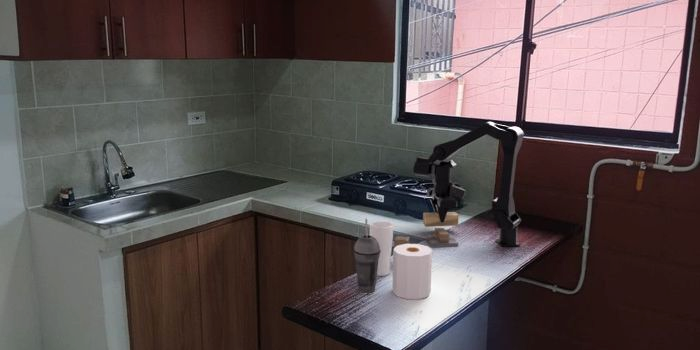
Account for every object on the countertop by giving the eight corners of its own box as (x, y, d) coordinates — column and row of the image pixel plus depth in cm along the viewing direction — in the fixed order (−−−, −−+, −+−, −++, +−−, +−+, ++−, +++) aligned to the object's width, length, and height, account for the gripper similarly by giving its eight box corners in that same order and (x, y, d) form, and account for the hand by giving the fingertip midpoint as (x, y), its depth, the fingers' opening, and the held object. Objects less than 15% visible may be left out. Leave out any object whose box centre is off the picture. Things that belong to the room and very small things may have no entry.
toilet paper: (407, 281, 163) (409, 240, 160) (438, 291, 156) (439, 249, 153) (384, 291, 155) (385, 249, 153) (415, 303, 148) (416, 258, 146)
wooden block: (406, 265, 175) (407, 240, 173) (393, 264, 176) (394, 239, 174) (408, 261, 178) (409, 236, 177) (396, 259, 180) (396, 235, 178)
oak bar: (458, 225, 207) (458, 215, 206) (425, 226, 206) (425, 215, 205) (454, 222, 211) (455, 212, 210) (422, 223, 210) (423, 212, 209)
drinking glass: (378, 267, 173) (378, 219, 170) (396, 272, 169) (397, 223, 166) (364, 273, 168) (364, 224, 165) (382, 279, 164) (384, 229, 161)
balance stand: (458, 245, 193) (458, 234, 192) (432, 246, 192) (432, 235, 191) (450, 237, 202) (450, 226, 201) (425, 238, 201) (425, 227, 200)
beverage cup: (357, 297, 152) (358, 224, 147) (350, 286, 158) (350, 217, 154) (383, 294, 153) (385, 222, 149) (375, 284, 160) (376, 215, 156)
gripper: (472, 183, 197) (470, 227, 200) (456, 172, 215) (454, 212, 218) (441, 184, 195) (439, 228, 199) (427, 173, 213) (425, 213, 217)
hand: (440, 220), depth 208 cm, fingers closed on oak bar, 4 cm apart
